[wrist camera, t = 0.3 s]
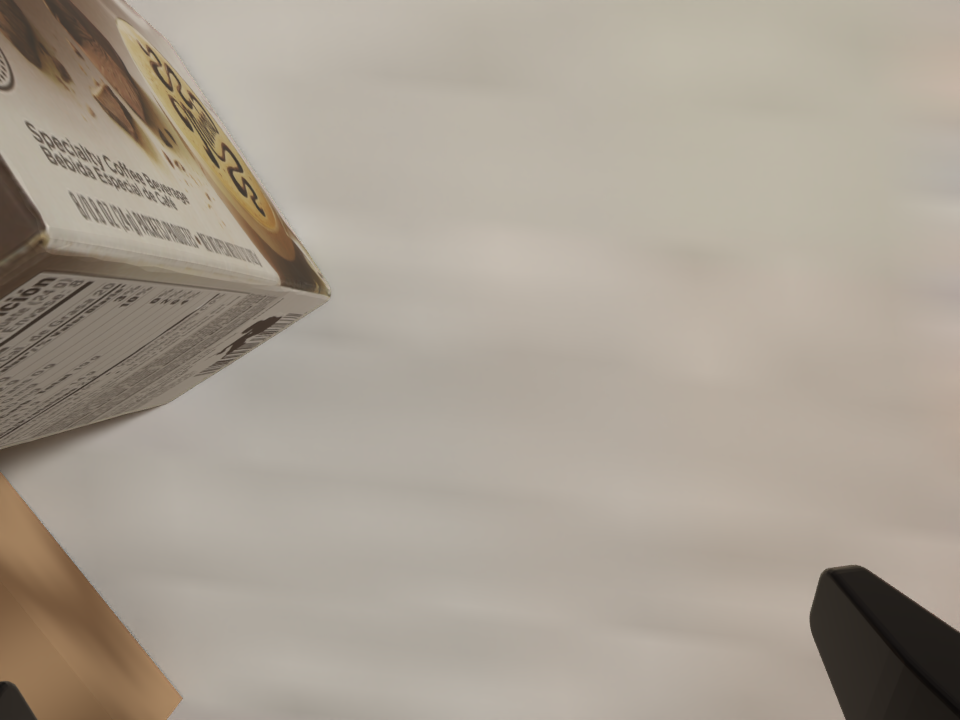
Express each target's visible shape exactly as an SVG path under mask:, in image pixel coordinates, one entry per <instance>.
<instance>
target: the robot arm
mask: <svg viewBox="0 0 960 720" xmlns="http://www.w3.org/2000/svg"><path fill="white" fill-rule="evenodd" d="M810 628H811V632H812V635H813V638H814V641H815V643H816V646H817V648H818V651H819V653H820V656H821V658H822V661H823V663H824V666H825V669H826V671H827V674H828V676H829V679H830V681H831V684H832V686H833V689H834V691H835V694H836V696H837V699H838V701H839V704H840V707H841V709H842V712H843V714H844V717H845V719H846V720H960V632H959V631H957V630H956V629H954V628H953V627H951V626H950V625H948V624H947V623H945V622H944V621H942V620H941V619H939V618H938V617H937V616H935V615H934V614H932V613H931V612H929V611H928V610H926V609H925V608H923V607H922V606H920V605H919V604H918V603H916V602H915V601H913V600H912V599H910V598H909V597H907V596H906V595H904V594H903V593H901V592H900V591H898V590H897V589H896V588H894V587H893V586H891V585H890V584H888V583H887V582H885V581H884V580H882V579H881V578H879V577H878V576H876V575H875V574H874V573H872V572H871V571H869V570H868V569H866V568H864V567H861V566H858V565H848V566H841V567H833V568H828V569H825V570H824V571H823V572H822V573H821V575H820V578H819V582H818V586H817V589H816V593H815V597H814V600H813V604H812V608H811V611H810ZM0 720H38V719H37V718H36V716H35V715H34V713H33V711H32V710H31V708H30V707H29V705H28V703H27V702H26V700H25V699H24V697H23V695H22V694H21V692H20V691H19V689H18V687H17V686H16V685H15V684H13V683H11V682H9V681H0Z"/></svg>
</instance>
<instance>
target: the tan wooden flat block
mask: <svg viewBox="0 0 960 720" xmlns="http://www.w3.org/2000/svg"><path fill="white" fill-rule="evenodd" d="M0 681H9V682H11V683H13V684H15V685H16V686H17V687H18V689H19V691H20V692H21V694H22V695H23V697H24V699H25V700H26V702H27V703H28V705H29V707H30V708H31V710H32V711H33V713H34V715H35V716H36V718H37V719H38V720H167V718H168V717H169V716H170V714H171V713H172V712H173V711H174V709H175V708H176V707H177V705H178V704H179V703H180V701H181V700H182V699H183V698H182V697H181V696H180V695H179V693H178V692H177V691H176V690H175V688H174V687H173V686H172V685H171V683H170V682H169V681H168V680H167V678H166V677H165V676H164V675H163V673H162V672H161V671H160V670H159V668H158V667H157V666H156V665H155V663H154V662H153V661H152V660H151V659H150V657H149V656H148V655H147V654H146V652H145V651H144V650H143V649H142V647H141V646H140V645H139V644H138V642H137V641H136V640H135V639H134V637H133V636H132V635H131V634H130V632H129V631H128V630H127V629H126V627H125V626H124V625H123V624H122V622H121V621H120V620H119V619H118V617H117V616H116V615H115V614H114V612H113V611H112V610H111V609H110V608H109V606H108V605H107V604H106V603H105V601H104V600H103V599H102V598H101V596H100V595H99V594H98V593H97V591H96V590H95V589H94V588H93V586H92V585H91V584H90V583H89V581H88V580H87V579H86V578H85V576H84V575H83V574H82V573H81V571H80V570H79V569H78V568H77V566H76V565H75V564H74V563H73V561H72V560H71V559H70V558H69V556H68V555H67V554H66V553H65V552H64V550H63V549H62V548H61V547H60V545H59V544H58V543H57V542H56V540H55V539H54V538H53V537H52V535H51V534H50V533H49V532H48V530H47V529H46V528H45V527H44V525H43V524H42V523H41V522H40V520H39V519H38V518H37V517H36V515H35V514H34V513H33V512H32V510H31V509H30V508H29V507H28V505H27V504H26V503H25V502H24V501H23V499H22V498H21V497H20V496H19V494H18V493H17V492H16V491H15V489H14V488H13V487H12V486H11V484H10V483H9V482H8V481H7V479H6V478H5V477H4V476H3V474H2V473H1V472H0Z"/></svg>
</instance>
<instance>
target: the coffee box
mask: <svg viewBox="0 0 960 720" xmlns="http://www.w3.org/2000/svg"><path fill="white" fill-rule="evenodd" d="M330 296H331V289H330V287H329V285H328V283H327V282H326V280H325V278H324V277H323V275H322V273H321V272H320V270H319V269H318V267H317V266H316V264H315V263H314V261H313V260H312V258H311V257H310V255H309V254H308V252H307V250H306V249H305V247H304V246H303V244H302V243H301V241H300V240H299V238H298V237H297V235H296V234H295V232H294V231H293V229H292V228H291V226H290V225H289V223H288V222H287V220H286V219H285V217H284V216H283V214H282V212H281V211H280V209H279V208H278V206H277V205H276V203H275V202H274V200H273V199H272V197H271V196H270V194H269V193H268V191H267V190H266V188H265V187H264V185H263V184H262V182H261V181H260V179H259V178H258V176H257V175H256V173H255V171H254V170H253V168H252V167H251V165H250V164H249V162H248V161H247V159H246V158H245V156H244V155H243V153H242V152H241V150H240V149H239V147H238V146H237V144H236V143H235V141H234V140H233V138H232V137H231V135H230V134H229V132H228V131H227V129H226V128H225V126H224V125H223V123H222V122H221V120H220V119H219V117H218V116H217V114H216V113H215V111H214V109H213V108H212V106H211V105H210V103H209V102H208V100H207V99H206V97H205V96H204V94H203V93H202V91H201V90H200V88H199V87H198V85H197V84H196V82H195V81H194V79H193V78H192V76H191V75H190V73H189V71H188V70H187V68H186V67H185V65H184V64H183V62H182V61H181V59H180V57H179V56H178V54H177V53H176V51H175V50H174V48H173V47H172V45H171V44H170V42H169V41H168V40H167V39H166V38H165V37H164V36H163V35H161V34H160V33H159V32H158V31H157V30H156V29H154V28H153V27H152V26H151V25H150V24H149V23H148V22H147V21H146V20H145V19H144V18H143V17H141V16H140V15H139V14H138V13H137V12H136V11H135V10H134V9H133V8H132V7H131V6H129V5H128V4H127V3H126V2H125V1H124V0H0V449H4V448H7V447H11V446H14V445H18V444H22V443H26V442H30V441H33V440H37V439H40V438H44V437H47V436H51V435H55V434H58V433H61V432H65V431H68V430H72V429H75V428H79V427H83V426H87V425H90V424H93V423H96V422H100V421H104V420H107V419H111V418H114V417H118V416H121V415H124V414H127V413H133V412H137V411H141V410H145V409H149V408H152V407H156V406H160V405H164V404H167V403H169V402H171V401H173V400H174V399H176V398H177V397H179V396H181V395H182V394H184V393H185V392H187V391H188V390H190V389H191V388H193V387H195V386H196V385H198V384H199V383H201V382H203V381H204V380H206V379H207V378H209V377H211V376H212V375H214V374H215V373H217V372H219V371H220V370H222V369H223V368H225V367H226V366H228V365H230V364H231V363H233V362H234V361H236V360H237V359H239V358H241V357H242V356H244V355H245V354H247V353H248V352H250V351H252V350H253V349H255V348H256V347H258V346H259V345H261V344H262V343H264V342H266V341H267V340H269V339H270V338H272V337H273V336H275V335H277V334H278V333H280V332H281V331H283V330H284V329H286V328H287V327H289V326H290V325H292V324H293V323H295V322H297V321H298V320H300V319H301V318H303V317H304V316H306V315H307V314H309V313H311V312H312V311H314V310H315V309H317V308H318V307H320V306H321V305H323V304H324V303H326V302H327V301H328V300H329V299H330Z"/></svg>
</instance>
